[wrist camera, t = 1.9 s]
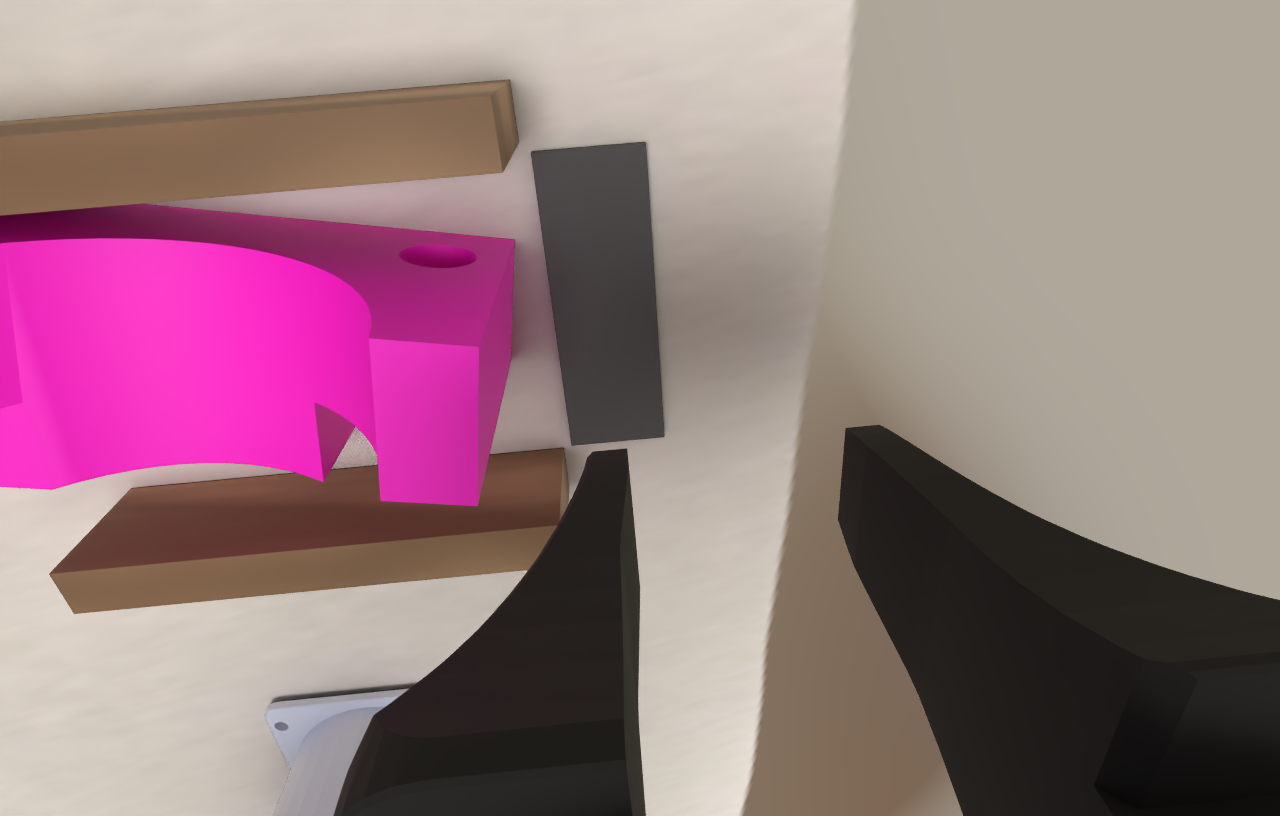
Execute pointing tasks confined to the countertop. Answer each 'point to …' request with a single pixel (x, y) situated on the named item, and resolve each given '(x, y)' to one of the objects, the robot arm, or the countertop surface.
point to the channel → (293, 503)
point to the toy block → (249, 346)
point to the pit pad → (602, 288)
